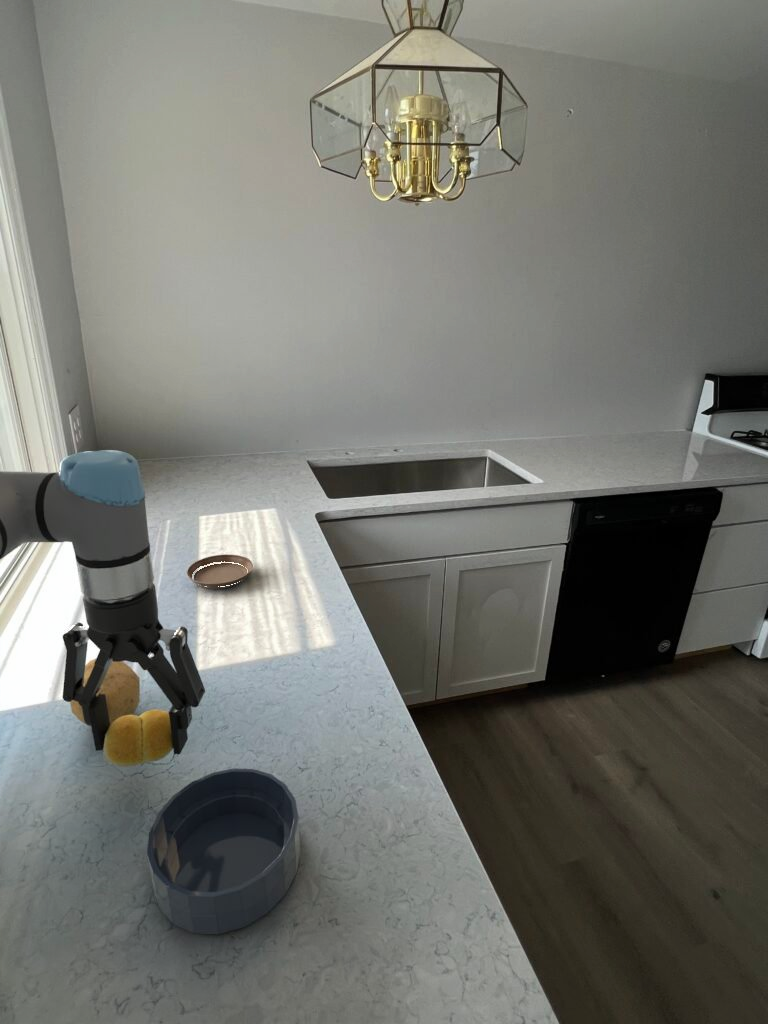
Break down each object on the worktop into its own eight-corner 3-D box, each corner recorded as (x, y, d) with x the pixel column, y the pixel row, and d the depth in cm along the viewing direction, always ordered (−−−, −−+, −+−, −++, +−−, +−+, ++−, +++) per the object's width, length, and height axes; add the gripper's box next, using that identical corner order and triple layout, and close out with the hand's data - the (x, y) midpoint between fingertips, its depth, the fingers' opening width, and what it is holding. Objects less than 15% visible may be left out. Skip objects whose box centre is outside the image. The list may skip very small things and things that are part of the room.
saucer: (230, 598, 121) (229, 587, 120) (174, 586, 125) (172, 576, 125) (265, 569, 134) (264, 559, 133) (213, 560, 139) (212, 550, 138)
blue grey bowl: (128, 934, 57) (119, 893, 54) (185, 802, 72) (180, 766, 69) (285, 940, 56) (282, 899, 54) (309, 806, 71) (307, 770, 69)
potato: (77, 759, 78) (66, 713, 75) (73, 700, 89) (64, 658, 87) (151, 735, 82) (144, 691, 80) (139, 682, 94) (132, 642, 91)
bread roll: (183, 758, 69) (179, 733, 68) (103, 778, 66) (98, 751, 65) (179, 715, 76) (176, 691, 75) (107, 731, 73) (103, 706, 72)
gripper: (224, 576, 66) (235, 727, 74) (43, 569, 67) (73, 720, 75) (204, 608, 59) (218, 771, 67) (1, 600, 60) (39, 763, 67)
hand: (142, 744), depth 71 cm, fingers closed on bread roll, 9 cm apart
